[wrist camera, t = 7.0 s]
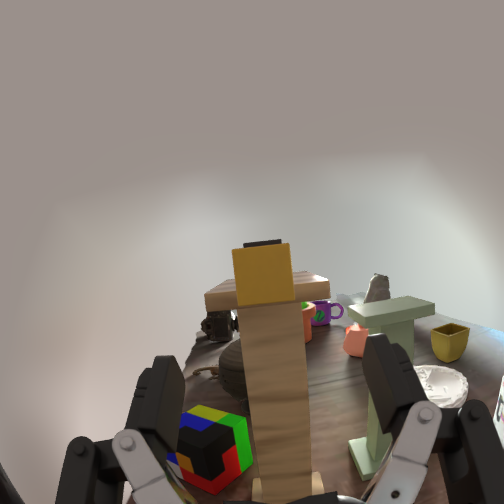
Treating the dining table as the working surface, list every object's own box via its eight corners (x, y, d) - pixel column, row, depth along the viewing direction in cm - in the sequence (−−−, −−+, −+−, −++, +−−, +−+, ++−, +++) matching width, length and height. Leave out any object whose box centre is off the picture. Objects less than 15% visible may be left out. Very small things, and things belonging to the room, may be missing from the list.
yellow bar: (304, 299, 15) (296, 222, 15) (228, 307, 16) (220, 231, 16) (283, 274, 35) (279, 240, 35) (249, 278, 36) (245, 244, 36)
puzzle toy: (170, 472, 38) (155, 427, 39) (208, 447, 47) (199, 404, 47) (215, 495, 33) (202, 448, 33) (253, 463, 41) (245, 417, 41)
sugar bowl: (362, 363, 79) (361, 330, 79) (332, 353, 92) (330, 324, 92) (388, 350, 84) (388, 320, 85) (359, 343, 97) (357, 315, 97)
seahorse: (213, 366, 94) (212, 357, 94) (245, 377, 82) (244, 367, 82) (190, 374, 88) (188, 365, 88) (220, 387, 76) (218, 378, 76)
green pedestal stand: (422, 463, 31) (438, 304, 31) (362, 481, 31) (367, 318, 32) (400, 433, 41) (405, 294, 41) (348, 446, 41) (345, 304, 42)
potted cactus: (271, 353, 101) (263, 283, 101) (255, 339, 122) (248, 280, 123) (327, 341, 106) (321, 275, 107) (303, 330, 128) (298, 273, 128)
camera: (241, 300, 123) (198, 301, 122) (243, 343, 121) (200, 344, 120) (240, 297, 147) (204, 299, 147) (242, 333, 145) (206, 334, 145)
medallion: (417, 436, 38) (419, 426, 38) (341, 390, 64) (341, 382, 64) (485, 387, 45) (487, 377, 45) (410, 363, 71) (410, 355, 71)
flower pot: (468, 358, 62) (470, 327, 62) (446, 367, 61) (448, 335, 61) (450, 351, 70) (451, 322, 71) (428, 359, 70) (429, 329, 70)
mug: (307, 327, 131) (305, 306, 131) (308, 321, 142) (306, 301, 142) (345, 323, 127) (344, 302, 128) (343, 318, 138) (342, 298, 139)
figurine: (396, 316, 123) (394, 273, 123) (365, 323, 123) (362, 278, 123) (384, 311, 137) (382, 271, 137) (354, 317, 137) (352, 276, 137)
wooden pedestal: (331, 531, 23) (329, 279, 23) (249, 539, 23) (203, 293, 24) (317, 470, 37) (306, 270, 37) (254, 476, 37) (226, 279, 38)
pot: (289, 380, 74) (282, 310, 73) (313, 415, 57) (308, 332, 55) (222, 393, 71) (209, 322, 70) (230, 433, 53) (214, 350, 52)
